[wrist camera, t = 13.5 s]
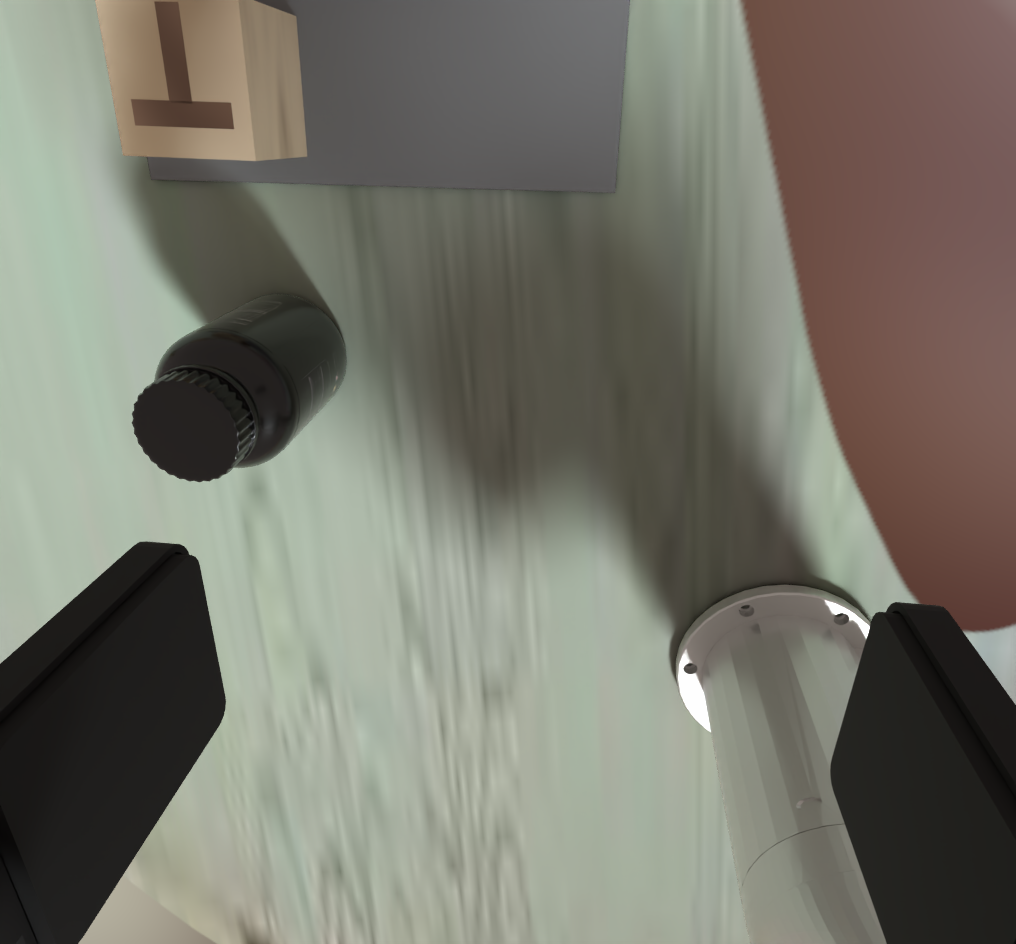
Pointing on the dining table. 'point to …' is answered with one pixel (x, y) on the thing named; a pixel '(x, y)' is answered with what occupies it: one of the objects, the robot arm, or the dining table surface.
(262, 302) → the supplement bottle
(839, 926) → the robot arm
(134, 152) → the maple block
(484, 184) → the mat
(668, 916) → the dining table surface
